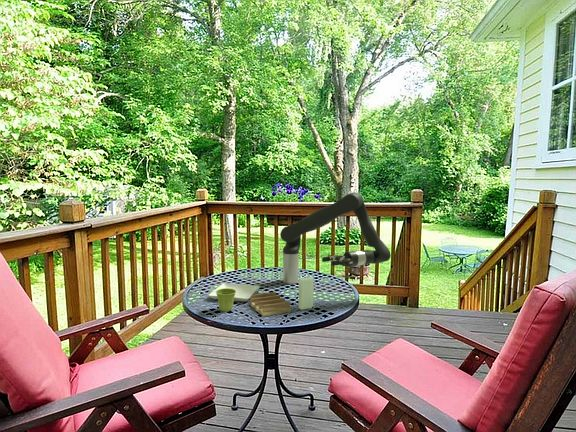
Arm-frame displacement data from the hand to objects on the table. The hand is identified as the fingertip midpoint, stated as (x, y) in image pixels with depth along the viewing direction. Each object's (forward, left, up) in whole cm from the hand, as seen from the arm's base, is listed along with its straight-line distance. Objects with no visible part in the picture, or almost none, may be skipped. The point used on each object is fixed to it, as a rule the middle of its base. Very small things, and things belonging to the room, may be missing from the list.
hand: (326, 261), depth 182 cm
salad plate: (-8, -47, -22) cm, 52 cm away
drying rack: (+8, -27, -21) cm, 35 cm away
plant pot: (+12, -47, -21) cm, 53 cm away
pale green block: (+6, -10, -21) cm, 24 cm away
